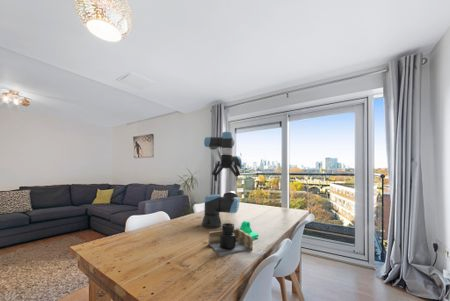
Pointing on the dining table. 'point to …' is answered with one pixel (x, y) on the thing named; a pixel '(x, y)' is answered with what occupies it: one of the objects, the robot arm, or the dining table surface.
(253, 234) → the camera mount
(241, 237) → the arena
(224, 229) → the ink bottle
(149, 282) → the dining table surface
